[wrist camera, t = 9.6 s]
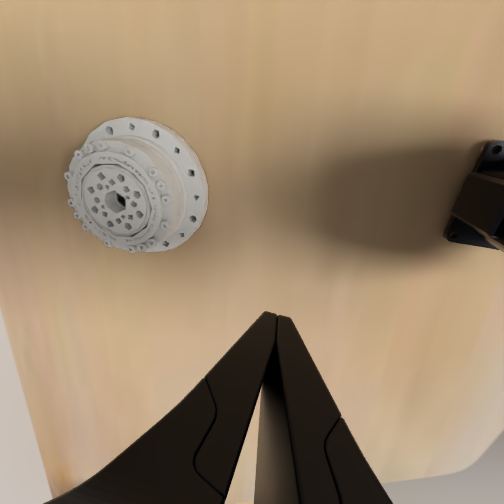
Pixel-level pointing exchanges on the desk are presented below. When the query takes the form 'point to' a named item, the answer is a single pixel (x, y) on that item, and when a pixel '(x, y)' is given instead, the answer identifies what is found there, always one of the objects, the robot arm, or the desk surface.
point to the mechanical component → (137, 186)
